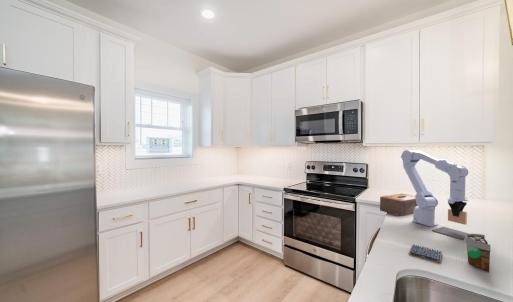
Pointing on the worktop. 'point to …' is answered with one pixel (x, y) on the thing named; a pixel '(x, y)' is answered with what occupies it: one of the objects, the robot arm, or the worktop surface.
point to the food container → (478, 251)
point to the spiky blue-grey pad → (426, 253)
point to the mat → (451, 232)
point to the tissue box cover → (398, 204)
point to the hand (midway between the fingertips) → (456, 215)
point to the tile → (462, 217)
